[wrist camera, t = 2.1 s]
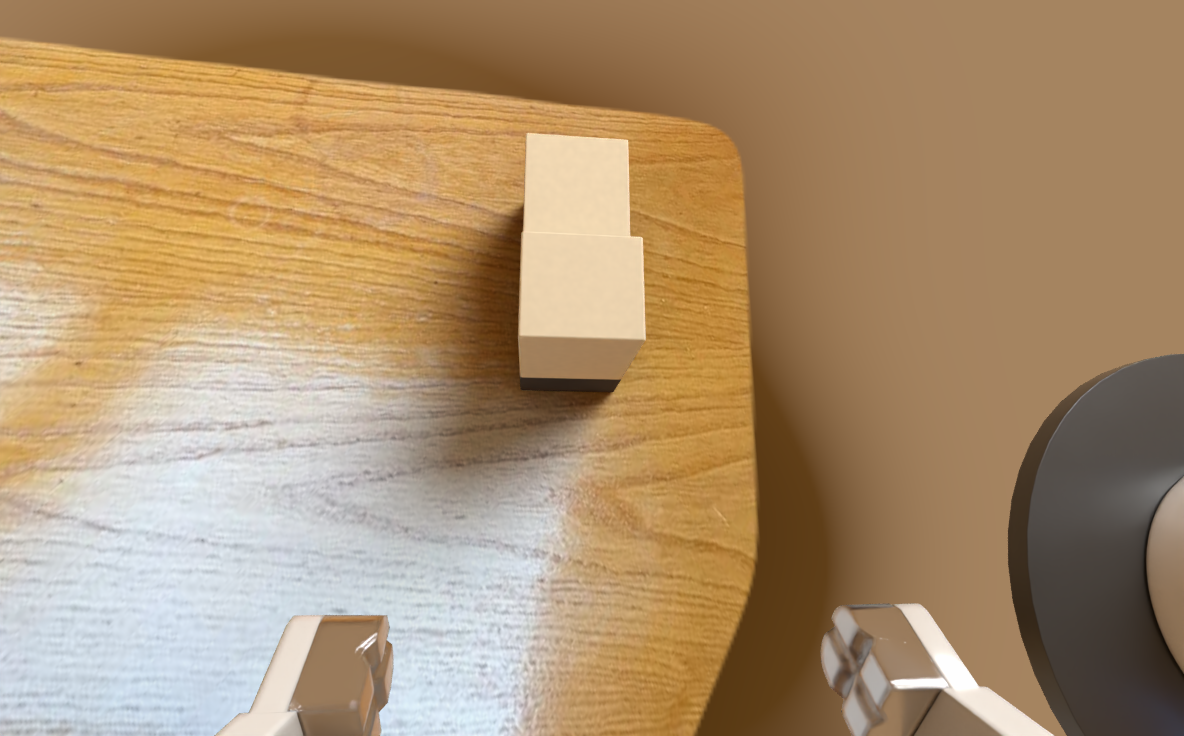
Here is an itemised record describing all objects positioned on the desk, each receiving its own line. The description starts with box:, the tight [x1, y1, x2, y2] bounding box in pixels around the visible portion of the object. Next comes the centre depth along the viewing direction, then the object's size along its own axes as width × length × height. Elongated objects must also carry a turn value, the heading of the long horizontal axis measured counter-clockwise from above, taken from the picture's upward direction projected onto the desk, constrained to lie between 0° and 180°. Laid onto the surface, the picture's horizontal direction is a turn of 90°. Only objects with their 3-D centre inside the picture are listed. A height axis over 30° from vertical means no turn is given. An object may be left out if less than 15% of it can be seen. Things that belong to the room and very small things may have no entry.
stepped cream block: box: [518, 133, 646, 392], centre depth 25 cm, size 4×10×8 cm, turn 0°
